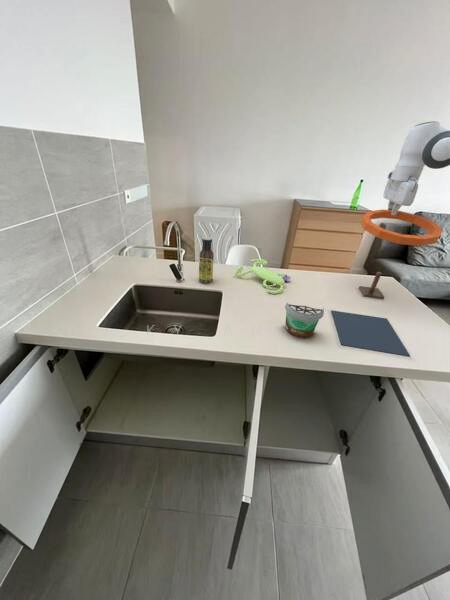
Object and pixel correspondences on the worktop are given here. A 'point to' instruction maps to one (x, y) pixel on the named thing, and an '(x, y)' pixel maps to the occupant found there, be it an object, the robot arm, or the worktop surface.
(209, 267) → the sauce bottle
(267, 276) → the figurine
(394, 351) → the mat
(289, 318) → the food container
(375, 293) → the post
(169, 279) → the worktop surface
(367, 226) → the ring
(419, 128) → the robot arm
